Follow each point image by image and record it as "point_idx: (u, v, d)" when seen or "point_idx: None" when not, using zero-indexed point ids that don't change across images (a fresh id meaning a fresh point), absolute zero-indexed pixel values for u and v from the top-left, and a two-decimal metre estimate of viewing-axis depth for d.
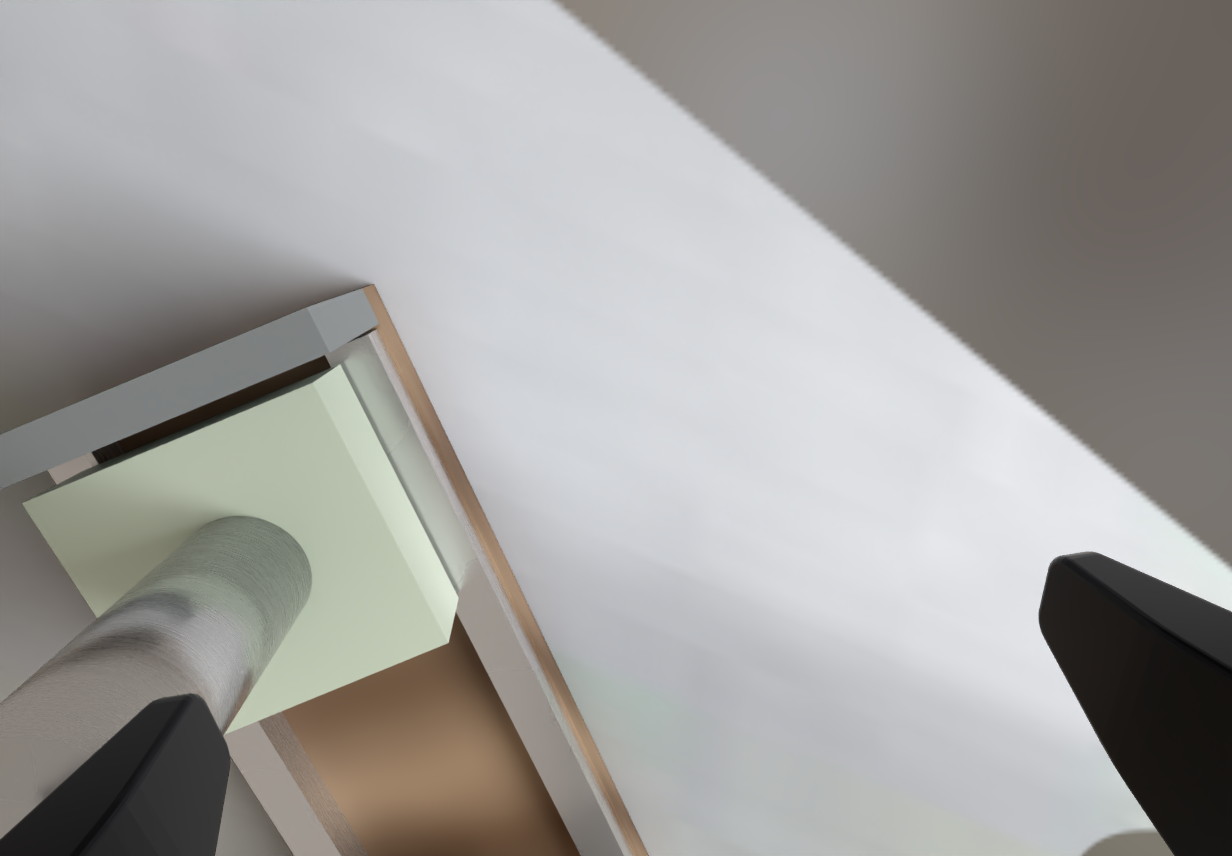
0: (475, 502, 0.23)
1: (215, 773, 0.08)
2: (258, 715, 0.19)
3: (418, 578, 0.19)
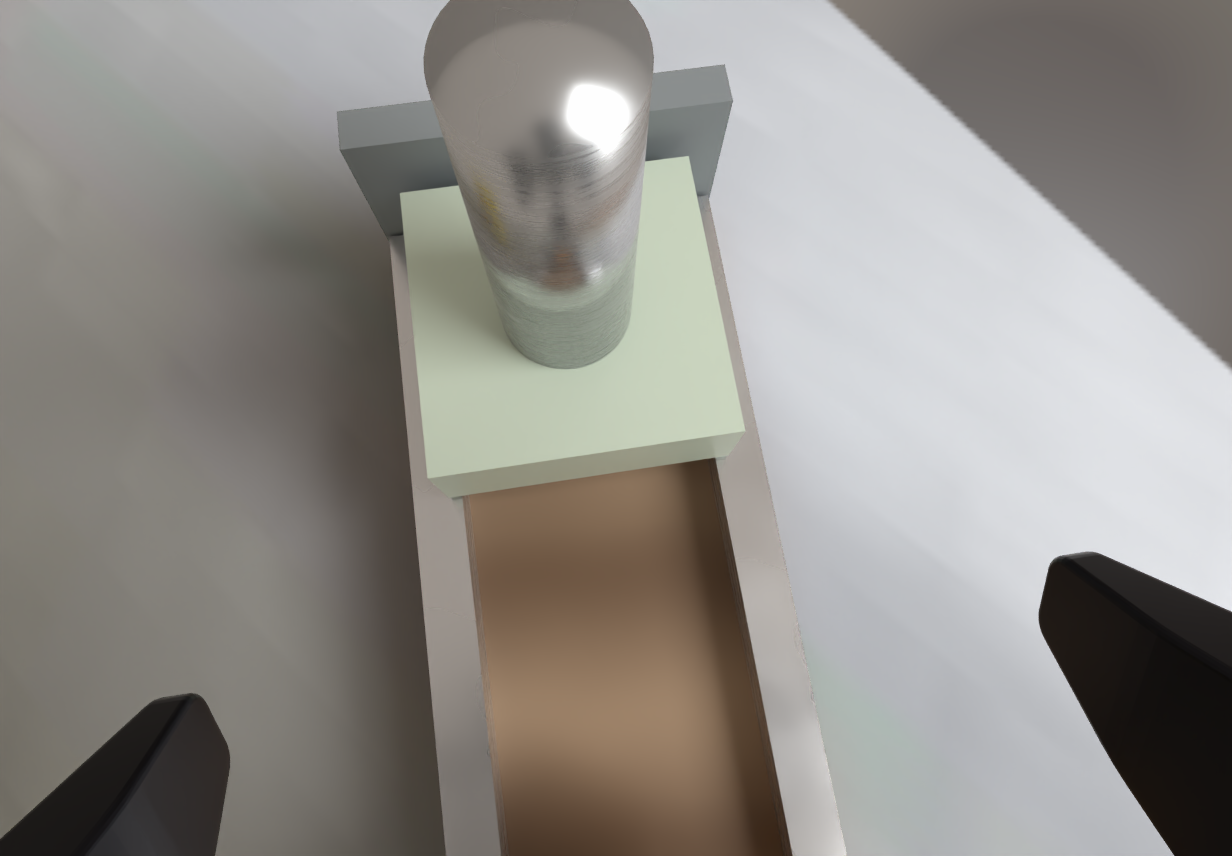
0: None
1: (215, 773, 0.08)
2: (520, 458, 0.17)
3: (728, 359, 0.18)
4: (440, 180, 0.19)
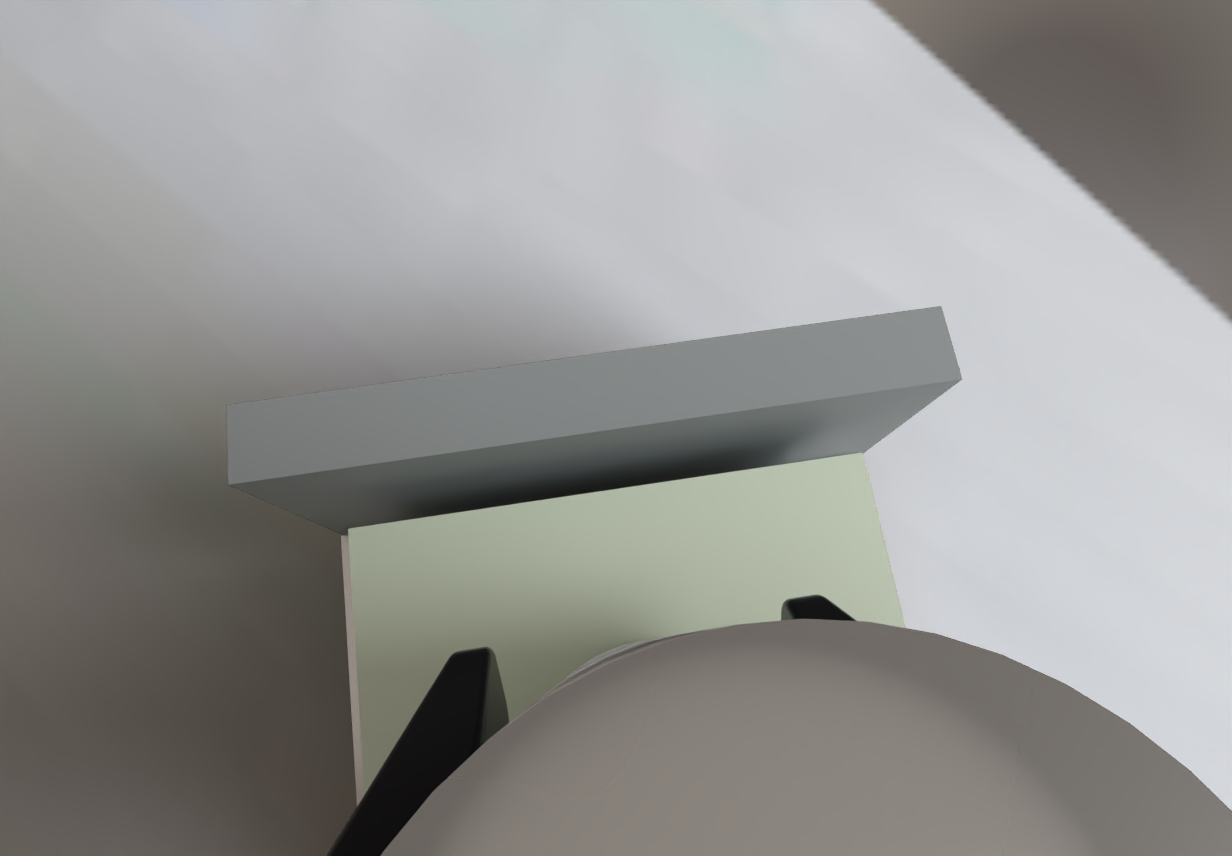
0: None
1: None
2: None
3: None
4: (422, 488, 0.11)
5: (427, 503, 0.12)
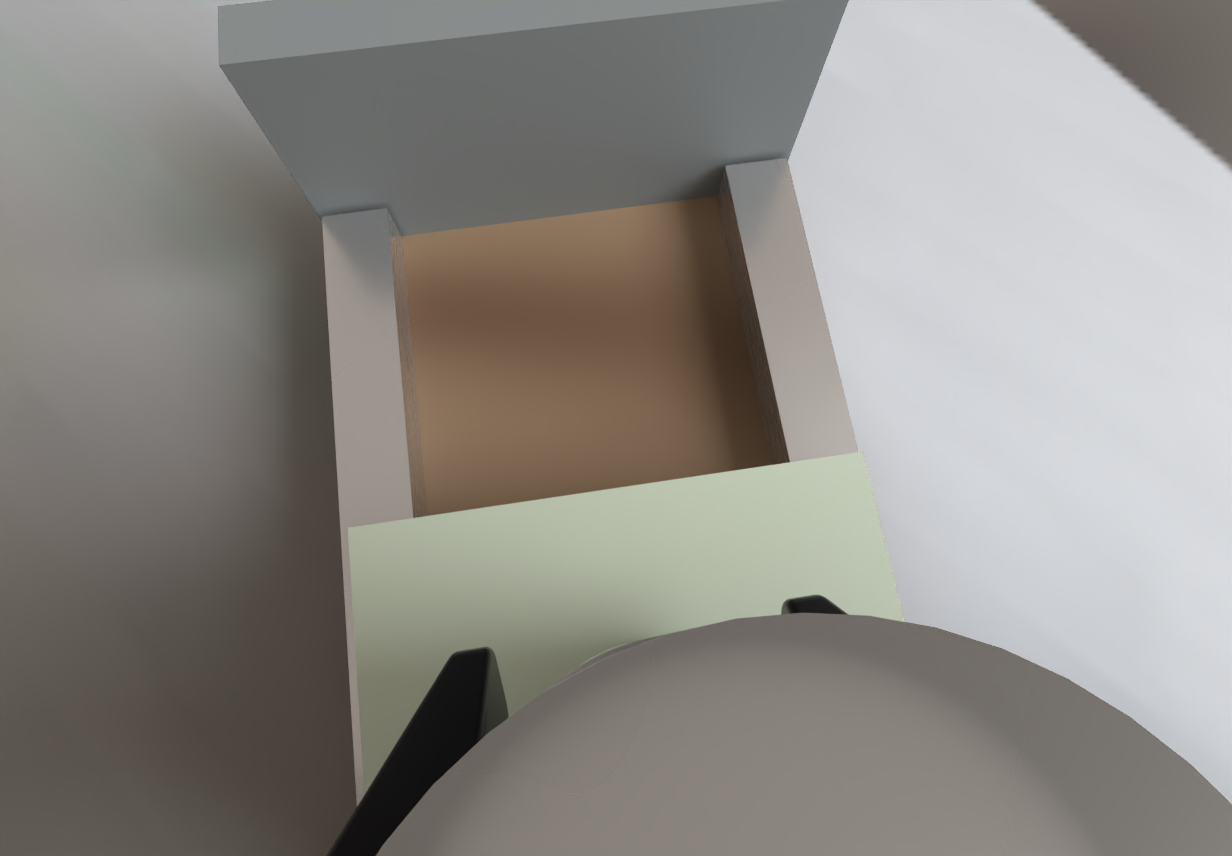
0: None
1: None
2: None
3: None
4: (390, 125, 0.13)
5: (396, 165, 0.14)
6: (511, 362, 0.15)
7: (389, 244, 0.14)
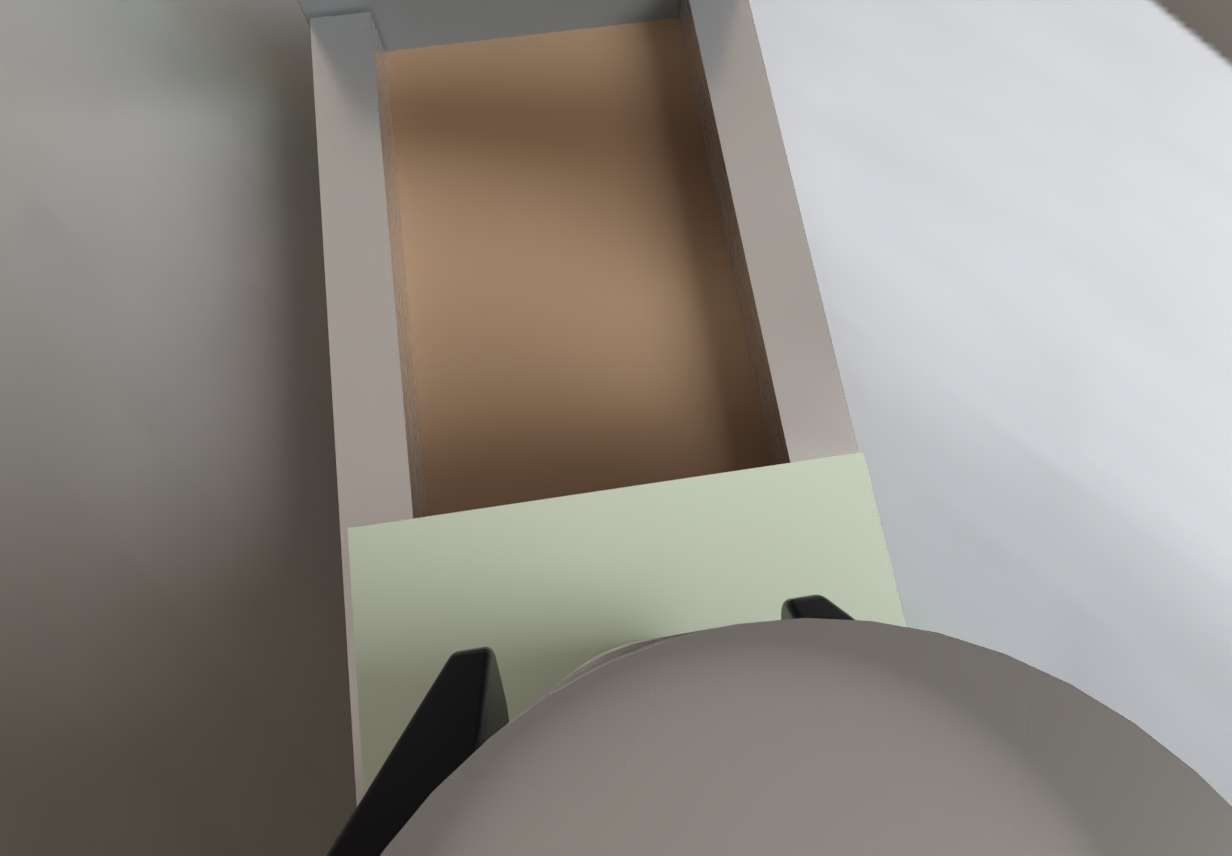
0: None
1: None
2: None
3: None
4: None
5: None
6: (486, 160, 0.16)
7: (372, 42, 0.15)
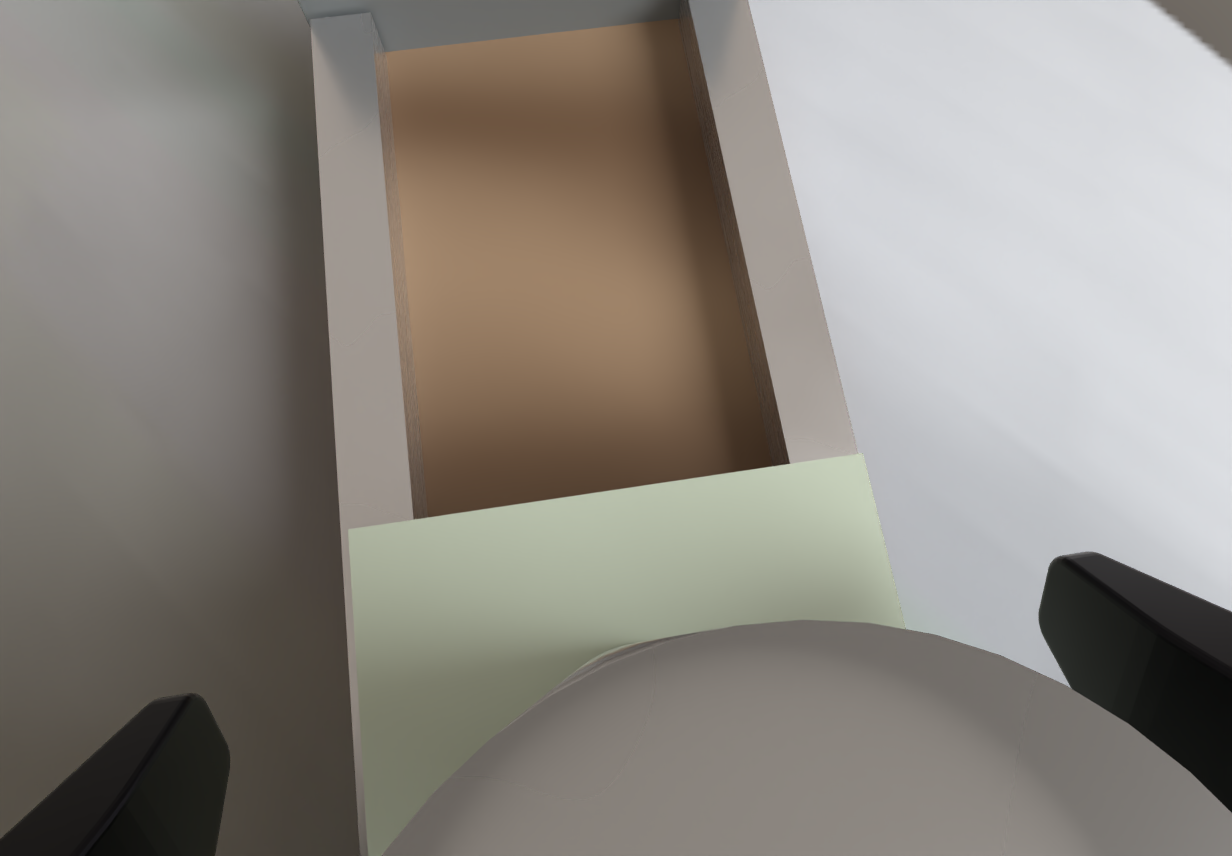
0: None
1: (215, 774, 0.08)
2: None
3: None
4: None
5: None
6: (486, 161, 0.16)
7: (372, 43, 0.16)
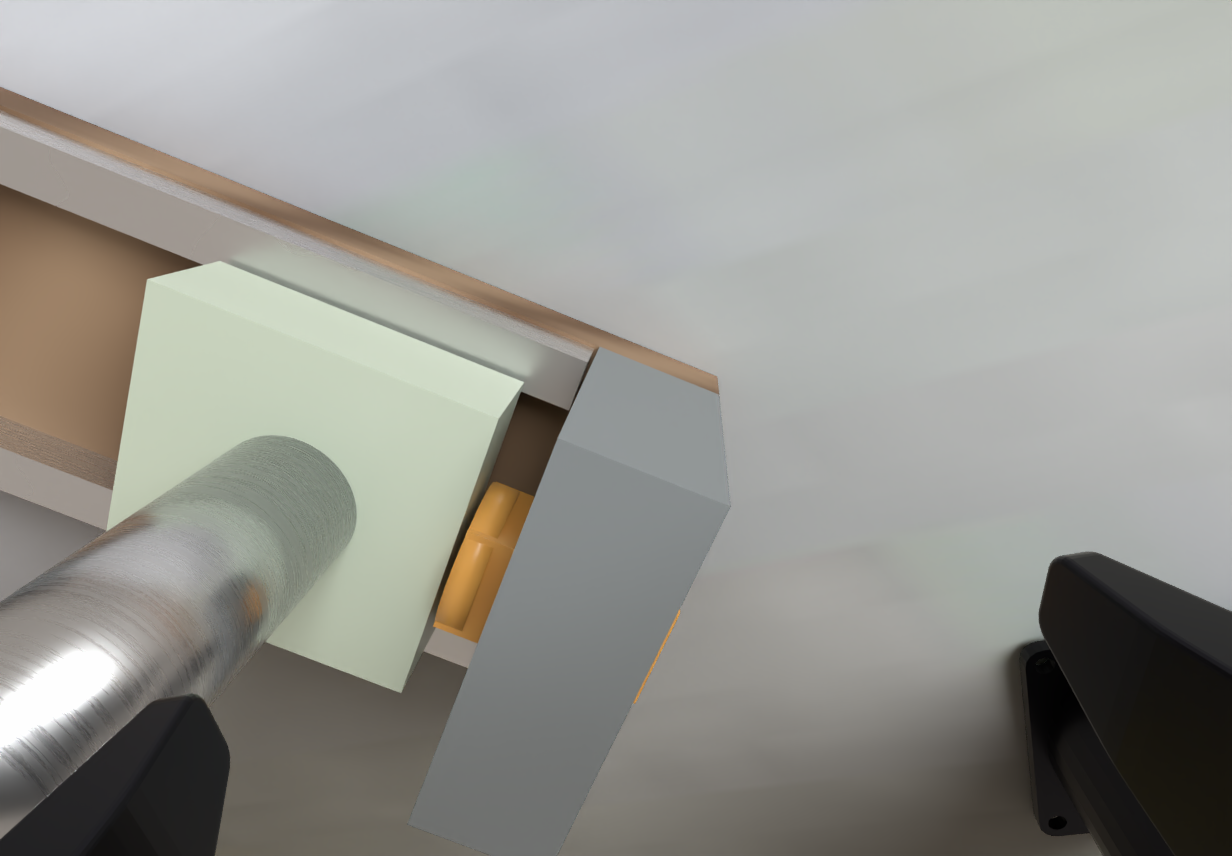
0: (89, 128, 0.19)
1: (215, 773, 0.08)
2: (420, 619, 0.17)
3: (414, 380, 0.15)
4: None
5: None
6: None
7: None
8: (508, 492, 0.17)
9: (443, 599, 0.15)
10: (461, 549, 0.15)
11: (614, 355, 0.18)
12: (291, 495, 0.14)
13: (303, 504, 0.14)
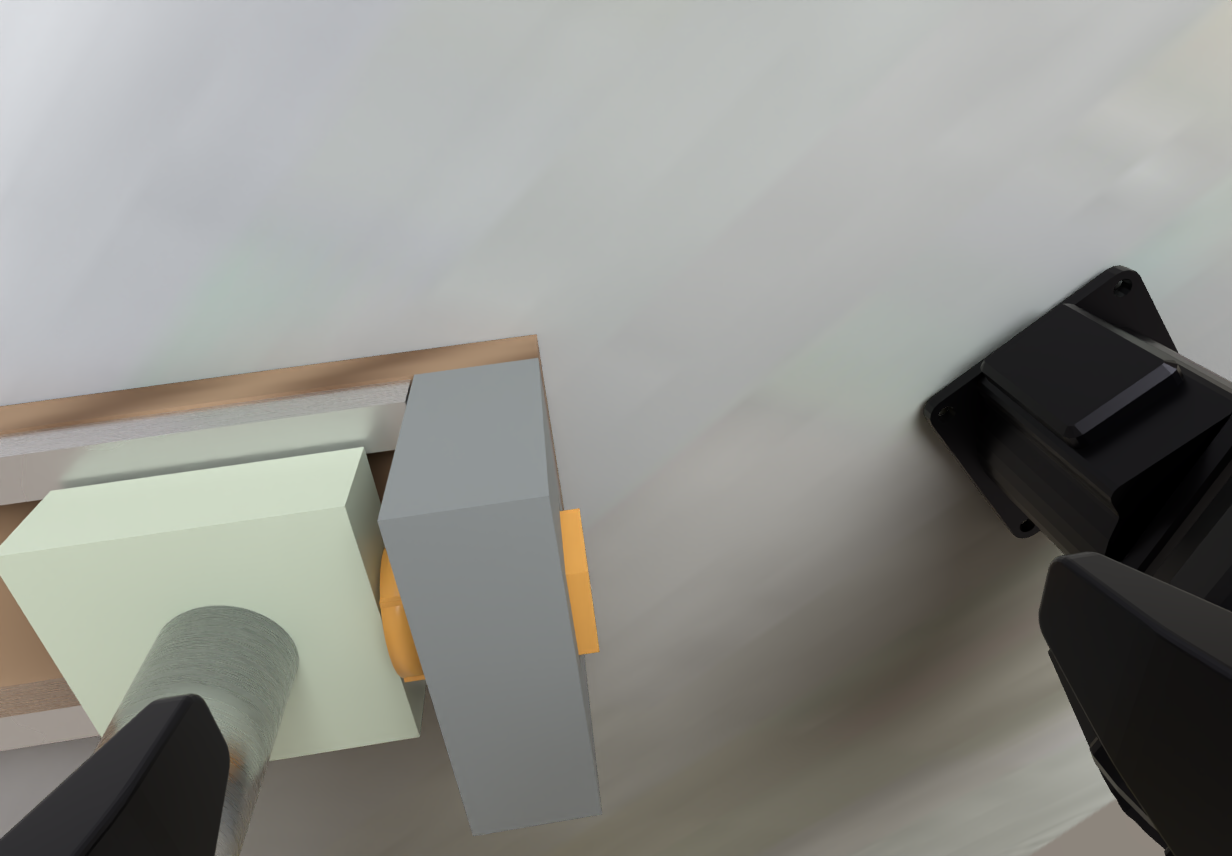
0: None
1: (215, 773, 0.08)
2: (395, 679, 0.18)
3: (259, 513, 0.16)
4: None
5: None
6: None
7: None
8: None
9: (394, 663, 0.17)
10: (383, 619, 0.17)
11: (429, 377, 0.19)
12: (213, 664, 0.15)
13: (228, 664, 0.16)
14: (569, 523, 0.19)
